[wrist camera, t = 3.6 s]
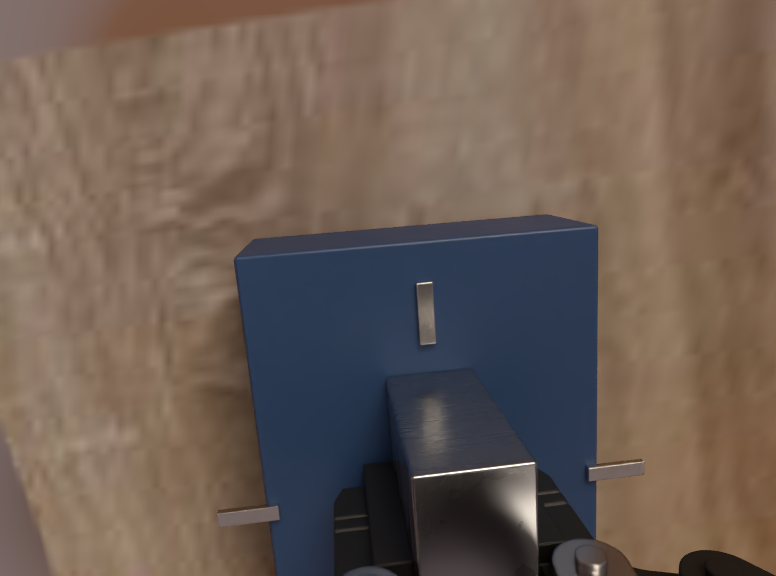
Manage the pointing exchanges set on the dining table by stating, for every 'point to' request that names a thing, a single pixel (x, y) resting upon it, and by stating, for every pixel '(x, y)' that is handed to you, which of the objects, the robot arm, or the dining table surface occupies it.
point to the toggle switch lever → (462, 478)
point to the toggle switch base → (414, 356)
